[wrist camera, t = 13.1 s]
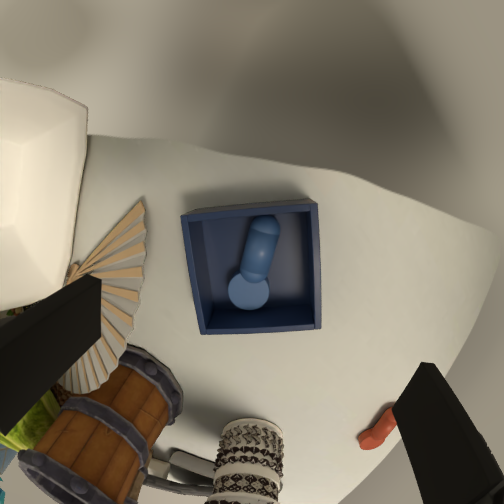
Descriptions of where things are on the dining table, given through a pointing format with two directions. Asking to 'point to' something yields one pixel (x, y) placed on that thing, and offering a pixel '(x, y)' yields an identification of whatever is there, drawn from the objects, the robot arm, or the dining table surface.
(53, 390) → the acorn
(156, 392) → the mug
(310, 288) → the blue bin
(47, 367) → the robot arm
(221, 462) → the decorative candle
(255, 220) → the blue spoon
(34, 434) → the lettuce
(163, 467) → the salt shaker
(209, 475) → the half round rod
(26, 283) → the bowl
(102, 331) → the hand fan
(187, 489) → the handgun
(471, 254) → the dining table surface
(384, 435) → the red spoon
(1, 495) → the gemstone
